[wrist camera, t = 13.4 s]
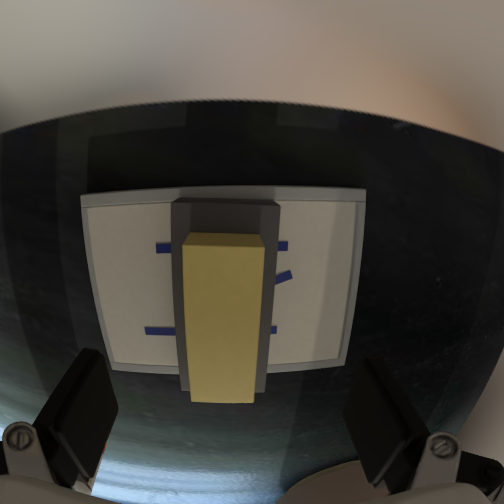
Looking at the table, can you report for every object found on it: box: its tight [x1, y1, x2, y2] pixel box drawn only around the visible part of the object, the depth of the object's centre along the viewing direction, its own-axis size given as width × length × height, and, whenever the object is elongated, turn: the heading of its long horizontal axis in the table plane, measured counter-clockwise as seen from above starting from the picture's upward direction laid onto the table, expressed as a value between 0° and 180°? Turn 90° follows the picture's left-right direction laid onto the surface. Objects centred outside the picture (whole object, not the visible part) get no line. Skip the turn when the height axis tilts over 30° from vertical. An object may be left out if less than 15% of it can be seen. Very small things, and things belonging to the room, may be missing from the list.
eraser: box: [171, 197, 281, 403], centre depth 16 cm, size 12×6×5 cm, turn 177°
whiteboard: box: [81, 185, 366, 374], centre depth 19 cm, size 18×13×1 cm
